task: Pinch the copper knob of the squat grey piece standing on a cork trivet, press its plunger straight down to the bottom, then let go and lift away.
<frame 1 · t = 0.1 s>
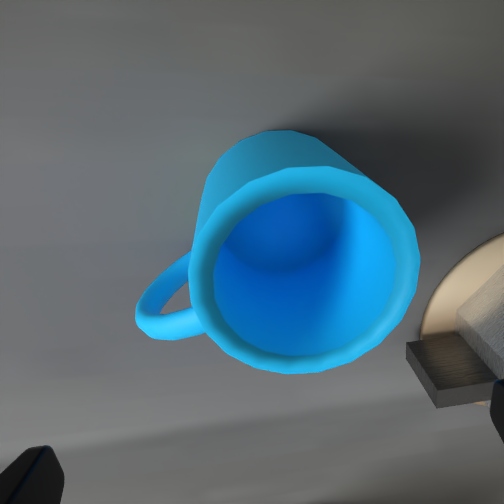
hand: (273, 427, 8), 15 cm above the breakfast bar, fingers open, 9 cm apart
mug: (246, 224, 22), on the breakfast bar
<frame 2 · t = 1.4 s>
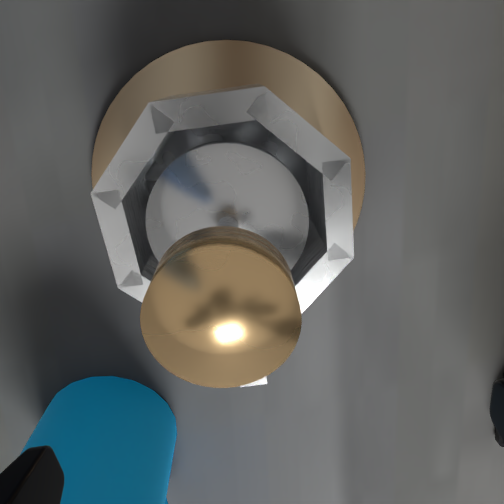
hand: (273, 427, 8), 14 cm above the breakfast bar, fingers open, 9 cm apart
mug: (130, 443, 27), on the breakfast bar
plunger: (225, 258, 13), point 8 cm above the breakfast bar, slide at 0.0 cm
grey piece: (230, 191, 20), resting on trivet
trivet: (230, 189, 20), on the breakfast bar
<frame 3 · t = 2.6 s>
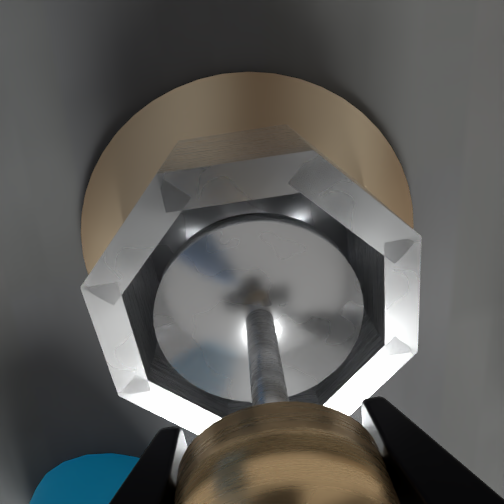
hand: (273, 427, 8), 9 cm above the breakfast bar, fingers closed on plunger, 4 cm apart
plunger: (268, 392, 9), point 8 cm above the breakfast bar, slide at 0.0 cm, touching gripper
grey piece: (250, 250, 16), resting on trivet
trivet: (249, 246, 17), on the breakfast bar
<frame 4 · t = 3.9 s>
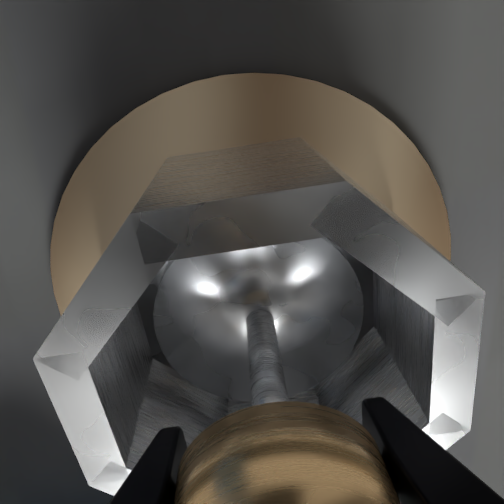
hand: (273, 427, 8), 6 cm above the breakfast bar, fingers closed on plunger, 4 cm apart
plunger: (269, 392, 9), point 5 cm above the breakfast bar, slide at 3.0 cm, touching gripper
grey piece: (255, 287, 14), resting on trivet
trivet: (254, 280, 14), on the breakfast bar
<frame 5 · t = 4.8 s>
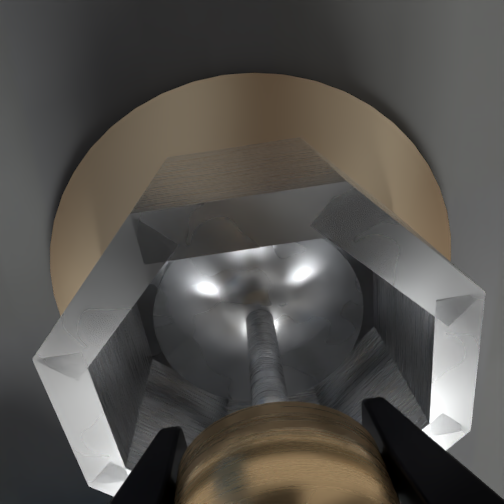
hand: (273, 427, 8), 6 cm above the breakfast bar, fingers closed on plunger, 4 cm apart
plunger: (268, 392, 9), point 5 cm above the breakfast bar, slide at 3.0 cm, touching gripper
grey piece: (255, 287, 14), resting on trivet
trivet: (254, 280, 14), on the breakfast bar
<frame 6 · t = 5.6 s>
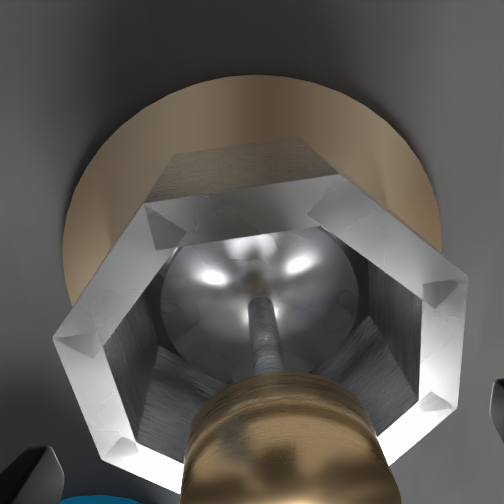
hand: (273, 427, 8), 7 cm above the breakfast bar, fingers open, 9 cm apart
plunger: (269, 371, 10), point 5 cm above the breakfast bar, slide at 3.0 cm
grey piece: (256, 278, 14), resting on trivet
trivet: (255, 271, 15), on the breakfast bar
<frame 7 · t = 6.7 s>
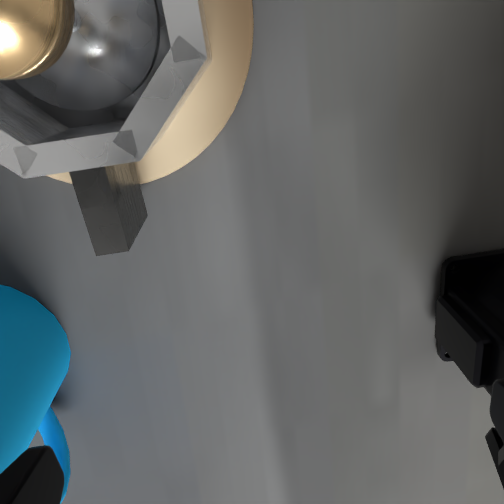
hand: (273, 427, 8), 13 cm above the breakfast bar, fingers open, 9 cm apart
mug: (19, 368, 23), on the breakfast bar
plunger: (34, 8, 12), point 5 cm above the breakfast bar, slide at 3.0 cm
grey piece: (86, 24, 16), resting on trivet
trivet: (90, 26, 17), on the breakfast bar
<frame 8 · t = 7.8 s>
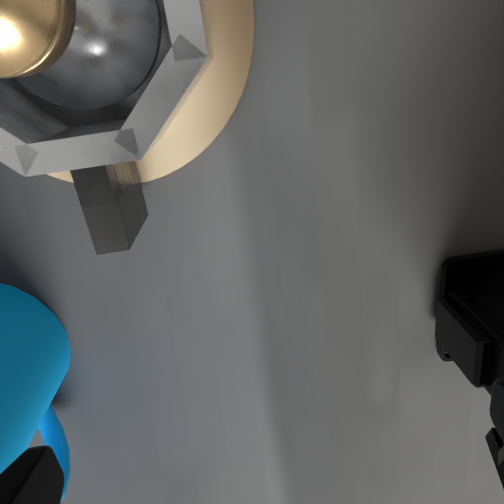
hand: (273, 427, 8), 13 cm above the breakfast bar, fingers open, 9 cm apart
mug: (19, 367, 23), on the breakfast bar
plunger: (35, 7, 12), point 5 cm above the breakfast bar, slide at 3.0 cm
grey piece: (88, 23, 16), resting on trivet
trivet: (91, 25, 17), on the breakfast bar
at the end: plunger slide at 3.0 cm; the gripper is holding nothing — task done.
